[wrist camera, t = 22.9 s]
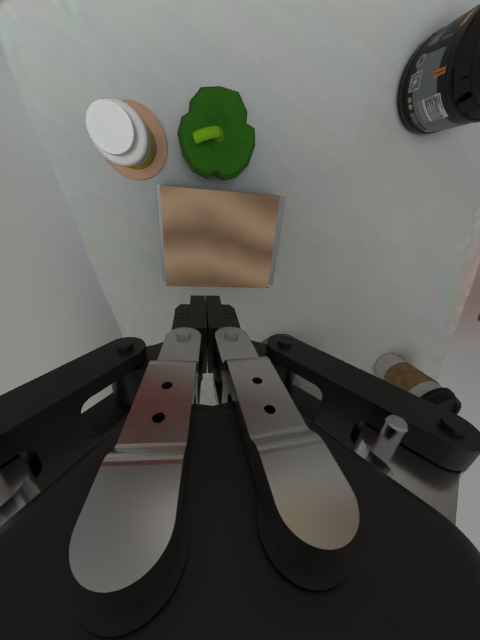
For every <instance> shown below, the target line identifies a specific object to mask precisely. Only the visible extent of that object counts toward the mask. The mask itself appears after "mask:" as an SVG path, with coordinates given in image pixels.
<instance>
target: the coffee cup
mask: <svg viewBox="0 0 480 640" xmlns="http://www.w3.org/2000/svg"><path fill="white" fill-rule="evenodd" d="M374 369H375V371H376V373H377V374H378V375H379V376H380V377H381V378H382V380H384V381H386V382H388V383H390V384H393V385H395V386H397V387H399V388H401V389H403V390H405V391H407V392H410V393H412V394H414V395H416V396H418V397H420V398H422V399H424V400H427V401H429V402H431V403H433V404H435V405H437V406H439V407H441V408H444V409H446V410H448V411H450V412H452V413H454V414H456V415H457V414H458V413H459V411H460V409H461V402H460V401H459V400H458V399H457V398H456V397H455V395H454V393H453V392H452V391H451V390H450V389H448V388H443V387H442V386H440V385H439V383H438V382H436V381H435V380H433V379H432V378H430V377H429V376H427V375H426V374H424V373H423V372H421V371H420V370H418V369H417V368H415V367H414V366H412V365H411V364H409V363H407V362H406V361H404V360H403V359H401V358H400V357H399V356H397V355H396V354H392V353H390V354H386V355H384V356H382V357H380V358H379V359H378V360H377V362H376V363H375V366H374Z"/></svg>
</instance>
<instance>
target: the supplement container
mask: <svg viewBox="0 0 480 640" xmlns="http://www.w3.org/2000/svg"><path fill="white" fill-rule="evenodd" d="M399 107H400V113H401V116H402V119H403V121H404V123H405V124H406V126H407V127H408V128H409V129H410V130H412V131H413V132H415V133H418V134H431V133H436V132H438V131H441V130H445V129H449V128H453V127H457V126H461V125H465V124H469V123H477V122H480V4H479V5H478V6H476V7H475V8H473V9H472V10H470V11H469V12H467V13H466V14H464V15H462V16H461V17H459V18H458V19H456V20H455V21H453V22H452V23H450V24H449V25H447V26H446V27H444V28H442V29H440V30H438V31H437V32H435V33H434V34H433V35H431V36H430V37H429V38H428V39H427V40H426V41H425V42H424V43H423V44H422V45H421V46H420V47H419V48H418V50H417V51H416V53H415V54H414V56H413V57H412V59H411V60H410V62H409V64H408V66H407V68H406V71H405V73H404V76H403V79H402V83H401V87H400V94H399Z"/></svg>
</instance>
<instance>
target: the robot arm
mask: <svg viewBox="0 0 480 640" xmlns="http://www.w3.org/2000/svg"><path fill="white" fill-rule="evenodd" d="M207 366H208V373H213V388H214V393H215V398H216V403H217V405H215V406H209V405H201V404H200V394H201V381H202V378H203V373H206V371H207ZM110 384H112V388H113V393H112V394H110V395H109V396H107V397H106V398H104V399H103V400H101V401H100V402H98V403H97V404H95V405H94V406H92V407H91V408H89V409H88V410H87V411H85V412H83V413H82V414H81V408H82V406H83V404H84V403H85V402H86V401H87V400H88V399H89V398H90V397H92V396H93V395H95V394H97V393H98V392H100V391H101V390H103V389H104V388H106V387H107V386H109V385H110ZM479 455H480V432H479V431H478V430H477V429H476V428H475V427H474V426H473V425H471V424H470V423H469V422H468V421H466V420H465V419H463V418H462V417H460V416H458V415H456V414H454V413H452V412H450V411H448V410H446V409H444V408H441V407H439V406H437V405H435V404H433V403H431V402H429V401H427V400H424V399H422V398H420V397H418V396H416V395H414V394H412V393H410V392H407V391H405V390H403V389H401V388H399V387H397V386H395V385H393V384H390V383H388V382H386V381H384V380H382V379H380V378H378V377H376V376H373V375H371V374H369V373H367V372H365V371H363V370H361V369H359V368H356V367H354V366H352V365H350V364H348V363H346V362H344V361H342V360H339V359H337V358H335V357H333V356H331V355H329V354H327V353H325V352H322V351H320V350H318V349H316V348H314V347H312V346H310V345H308V344H305V343H303V342H301V341H299V340H297V339H295V338H293V337H291V336H289V335H274V336H271V337H270V338H268V339H267V340H265V341H264V342H263V343H259V342H255V341H252V340H250V338H249V336H248V334H247V333H246V332H245V331H244V330H242V329H241V328H240V325H239V321H238V318H237V315H236V312H235V309H234V308H233V307H232V306H230V305H221V301H220V296H206V299H205V296H192V295H191V300H190V304H180V305H179V306H178V307H177V308H176V309H175V315H174V320H173V326H172V330H171V331H169V332H168V333H167V335H166V337H165V340H164V342H162V343H159V344H156V345H151V346H147V347H146V345H145V342H144V341H143V340H142V339H139V338H135V337H125V338H120V339H116V340H114V341H112V342H110V343H108V344H106V345H103V346H101V347H99V348H97V349H95V350H93V351H91V352H89V353H87V354H85V355H83V356H81V357H79V358H77V359H75V360H73V361H71V362H69V363H66V364H65V365H62V366H60V367H58V368H57V369H54V370H52V371H51V372H48V373H46V374H44V375H42V376H40V377H38V378H36V379H34V380H32V381H30V382H27V383H26V384H23V385H21V386H19V387H17V388H15V389H13V390H11V391H9V392H7V393H5V394H3V395H1V396H0V640H480V552H479V551H478V550H477V548H476V547H475V546H474V545H473V544H472V543H471V541H470V540H469V539H468V538H467V537H466V536H465V535H464V534H463V533H462V532H461V531H460V530H459V529H458V528H457V527H456V526H455V523H456V511H457V499H458V487H459V478H460V477H461V476H462V475H463V474H464V472H465V471H466V470H467V469H468V468H469V466H470V465H471V464H472V463H473V462H474V461H475V459H476V458H477V457H478V456H479Z"/></svg>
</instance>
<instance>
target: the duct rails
mask: <svg viewBox="0 0 480 640" xmlns="http://www.w3.org/2000/svg"><path fill="white" fill-rule="evenodd" d="M156 186H157V200H158V213H159V227H160V241H161V254H162V268H163V282H166V271H165V257H164V242H163V227H162V212H161V198H160V186H159V185H156ZM284 201H285V196H280V201H279V208H278V216H277V223H276V230H275V238H274V245H273V253H272V260H271V267H270V275H269V282H268V284H270V285H272V284H273V277H274V270H275V264H276V257H277V250H278V243H279V236H280V229H281V222H282V215H283V208H284Z"/></svg>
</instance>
